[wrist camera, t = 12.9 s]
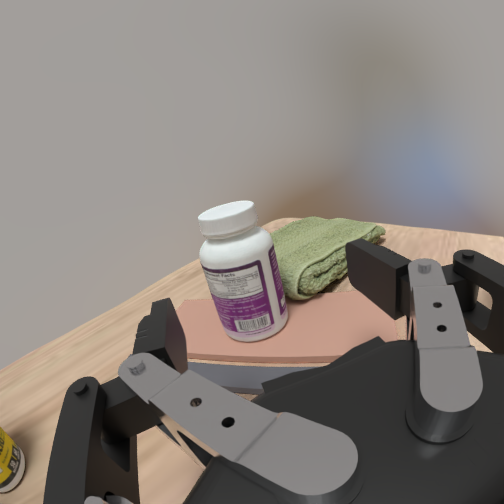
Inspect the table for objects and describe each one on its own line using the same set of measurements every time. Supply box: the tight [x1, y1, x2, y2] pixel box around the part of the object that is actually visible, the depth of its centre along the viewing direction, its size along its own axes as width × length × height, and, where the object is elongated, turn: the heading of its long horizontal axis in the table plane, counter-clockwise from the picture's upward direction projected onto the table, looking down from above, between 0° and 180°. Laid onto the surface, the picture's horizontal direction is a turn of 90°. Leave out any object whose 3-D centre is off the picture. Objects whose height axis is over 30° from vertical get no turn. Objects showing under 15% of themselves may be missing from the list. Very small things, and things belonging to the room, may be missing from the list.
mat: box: [128, 290, 398, 395], centre depth 22 cm, size 22×11×1 cm, turn 74°
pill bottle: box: [198, 201, 288, 342], centre depth 22 cm, size 5×5×10 cm
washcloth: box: [270, 217, 385, 300], centre depth 32 cm, size 13×18×3 cm
